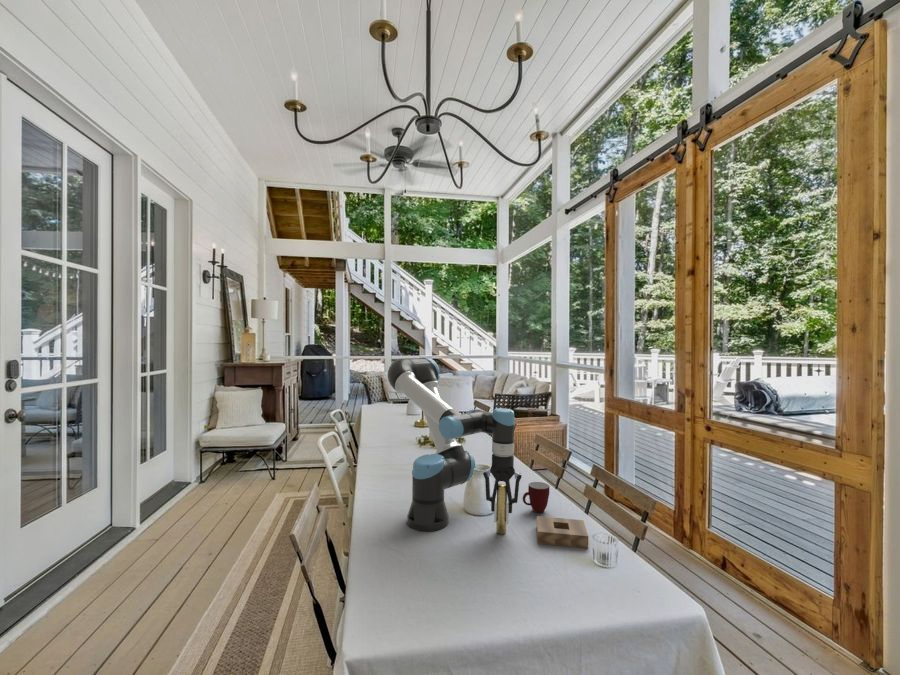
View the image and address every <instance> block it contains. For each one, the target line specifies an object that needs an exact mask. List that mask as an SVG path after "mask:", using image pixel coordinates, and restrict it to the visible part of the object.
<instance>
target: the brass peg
mask: <svg viewBox="0 0 900 675" xmlns="http://www.w3.org/2000/svg"><path fill="white" fill-rule="evenodd" d="M496 501H497V522H495V523H496V525H495V526H496V528H495V529H496V530H495V531H496V533H497V534H498V535H499V534H501V535H504V534H506V533H507V524H506V504H507V502H508V496H507V489H506V484H505V483H498V488H497V493H496Z"/></svg>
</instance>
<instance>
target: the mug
mask: <svg viewBox="0 0 900 675" xmlns="http://www.w3.org/2000/svg"><path fill="white" fill-rule="evenodd" d="M527 490H528V491H527V492H526V491H525V493H523V496H522V502H523V503H524V504H525V505H526V506H530V507H531V508H532V511H533V512H535V513H537V514H540V513H544V512H545V511H546V508H547V506H548V502H549V498H550V484H548V483H546V482H543V481H542V482H541V481H532V482H529V483H528V488H527ZM527 496H528V497H529V498H528V499H529V502H526V497H527Z"/></svg>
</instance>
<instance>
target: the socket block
mask: <svg viewBox="0 0 900 675" xmlns="http://www.w3.org/2000/svg"><path fill="white" fill-rule="evenodd" d="M536 539H537V545H538V544H539V545H549V546H556V547H557V546H559V547H560V546H561V547H569V548H580V549H589V534H588V531H587V528H586V525H585V521H584V520H583V519H575V518H562V517H561V518H560V517H552V516H539V515H537V516H536Z"/></svg>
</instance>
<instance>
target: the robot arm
mask: <svg viewBox="0 0 900 675" xmlns="http://www.w3.org/2000/svg"><path fill="white" fill-rule="evenodd" d="M440 373H441V371H440V367H439V365H438V364H437V362H436V361H435V360H433V359H432V358H430V357H429V358H428V357H419V358H416V357H414V358H398V359H397V360H395V361H394V362H392V363H391V364H390V366H389V368H388V370H387V379H388V382H389V384H390V386H391V388H393V390H394V391H395V392H397V393H399V394H403V395H404V396H405V397H407V399H408V400H410V401H411V402H412V403H413V404H414V405H415V406H416V407H418V408H419V409H420V410H422V411H423V412H422V413H423V415H424V417H425V420H426V424H427V426H428V429H429V432H430V435H431V438H432V441H433V444H434V446H435V449H436V451H435V453H431V454H429V453H428V454H424V455H421V456H418V457H417V458H416V459H415V460H414V461H413V464H412V472H411V476H412V477H411V478H412V485H411V486H412V487H411V488H412V492H411V495H412V499H411V503H410V506H409V510H408V513H407V516H406V518H407V519H406V522H407V523H406V524H407V526H408V527H410V528H411V529H414V530H417V531H419V532H434V531H438V530H442V529H444V528H446V527H447V526H448V525H449V522H450V521H449V516H450V515H449V512H448V509H447V506H446V503H445V490H447V489H450V488H454V487H456V486H459V485H464V484H465V483H467V482H469V481H471V480H470V478H471V477H472V475H473V469H474V468H475V469H476V461H475V460H476V459H475V457H474V456H473V454H472V453H470V452H469V451H468V450H465V449H464V446H463V444H461V443H459V442H458V441H457V439H458V438H464V437H466V436H470V435H476V434H480V433H483V434H487V435H491V440H492V441H491V443H492V444H491V452H492V455H491V467H490V469H488V470H486V469H485V470H483V477H484V483H485V486H484V487H485V500H486V501H488V502H490V504H491V505H490V511H491V512H492V513H494V515H493V517H494V518H493V523H496V522H497V500H496V499H497V488H498V484H500V482H503V483H504V484H505V485H506V489H507V504H506V525H508V524H509V521H510V520H509V516H510V515H509V514H512V513H513V504H517V503H518V502H519V501H518V500H519V499H518V498H519V489H520V481H521V479H522V473H521V472H517V471H516V469H515V466H514V465H515V464H514V459H515V456H514V455H513V454H514V453H515V438H514V436H515V424H516V421H515V412H514V410H513V409H510V408H501V407H498V408H495V409H493V410H492V412H490V411H484V410H481V409H473V408H472V409H470V410H469V411H467V412H466V413H459V412H458V411H457V410H455V409H454V408H453V407H451V406H450V405H449V404H448V403H447V402H445V401H444V399H442V398H441V396H440V394H439V390H438V386H439V380H440V377H441V376H440ZM491 475H492V476H493V478H494V479H495V480H494V485H493V491H492V494H491V489H490V488H491V487H490V477H491ZM513 477H514V479H515V486H514V496H512V489H511V483H510V480H511V479H512V478H513ZM472 478H473V477H472ZM491 495H492V496H491Z"/></svg>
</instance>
